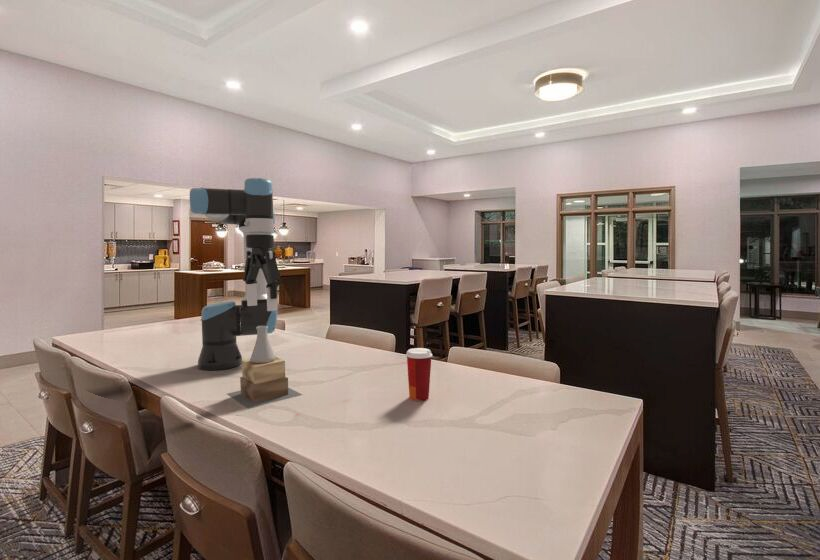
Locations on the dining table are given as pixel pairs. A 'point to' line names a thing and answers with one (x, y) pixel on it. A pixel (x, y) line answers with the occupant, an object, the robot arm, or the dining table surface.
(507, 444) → the dining table surface
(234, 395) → the grey mat
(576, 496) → the dining table surface
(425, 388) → the paper cup
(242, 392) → the walnut block
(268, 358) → the flask
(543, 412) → the dining table surface
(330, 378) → the dining table surface
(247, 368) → the oak block
